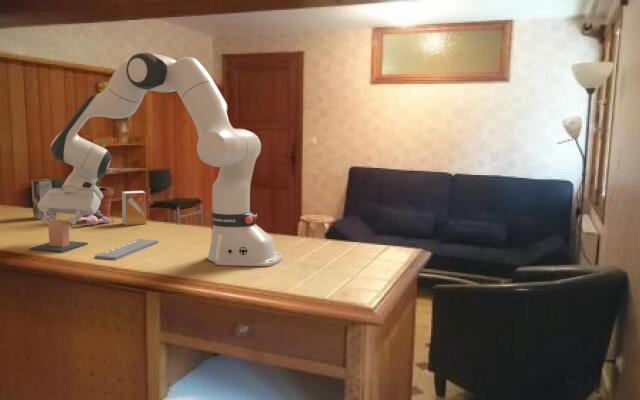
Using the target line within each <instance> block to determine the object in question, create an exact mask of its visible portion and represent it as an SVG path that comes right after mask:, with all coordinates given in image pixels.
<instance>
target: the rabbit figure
mask: <svg viewBox="0 0 640 400" xmlns="http://www.w3.org/2000/svg"><path fill="white" fill-rule="evenodd" d="M97 215H98V216H102V217H101V219H97V217H96V216H93V215H91V216H88V217H86V218H85V217H82V218H81V219H79V220H78V222H81V221H86V223H87V224H88V225H91V226H96V225H98V223H99V224H110V223H111V221H112V223H114V222H115V221H114V218H112V217H110V218H107V217H104V216H103V215H102V214H100V211H97Z"/></svg>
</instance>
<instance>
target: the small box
mask: <svg viewBox="0 0 640 400" xmlns="http://www.w3.org/2000/svg"><path fill="white" fill-rule="evenodd" d="M121 208H122V210H121V211H122V214H121V215H122V223H123V225H125V226H135V225H136V226H137V225H147V192H146V191H144V190H130V191H129V190H126V191H121Z"/></svg>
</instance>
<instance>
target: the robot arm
mask: <svg viewBox="0 0 640 400" xmlns="http://www.w3.org/2000/svg"><path fill="white" fill-rule="evenodd" d="M104 88H105V89H103V90H102V91H101V92H99V93H92V94H90V96H88V97H87V98H86V99H85V100H84V102H83V103H82V104H81V106H80V107H79V108H78V109H77V110H76V112H75V113H74V115H73V116H72V118H71V119H70V120H69V121H68V123H67V124H66V126H65V127H64V128H63V129H62V130H61V131H60V132H59V133H58V134H57V135H56V136H55V137H54V138H53V140H52V141H51V144H50V148H49V150H50V153H51V155H52V157H53V159H54V160H55V161H59V162H61V163H63V164H64V163H65V164H68V165H70V166H72V167H73V169H72V172H71V173H70V174H68V176H67V177H66V179H65V181H64V183H63V184H62V186H61V187H55V188H53V189H51V190H49V191H47V192H46V193H45V194H44V196H43V197H42V198H41V199H40V201H39V202H38V204H37V206H38V208H39V209H40V210H41V211H42V212H44V218H43V220H41V221H42V222H43V223H44V224H48V221H52V219H51V218H50V217H49V215H51V214H52V213H56V214H61V215H62V214H64V215H73V216H72V217H69V219H68V220H67V221H68V224H69V226H75V225H76V223H77V222H79V219H81V218H82V217H83V215H94V214H95V213H96V212H97V210H98V208H99V206H100V203H101V199H102V198H103V194H102V193H101V191H100V190H99V188H98V187H97V186H96V185H95V183H96V181H97V180H98V181H99V180H100V178H101V179H102V178H103V177H105V176H106V173H107V171H108V169H109V168H110V166H111V165H112V162H113V157H112V155H111V153H110V151H109V150H108V149H106V148H105V147H104V148H103V147H101V145H98V144H96V143H94V142H91V141H89V140H87V139H85V138H83V137H81V136H80V135H79V134H78V133H79V132H80V130H81V129H82V128H83V127H84V125H85V123H86V122H87V121H88V120H89V119H90V118H95V117H98V118H99V117H100V118H101V117H102V118H108V119H113V120H118V119H119V120H121V119H127V118H129V117H131V116H133V115H134V114H135V113H136V111H138V108H139V107H140V105H141V103H142V101H143V99H144V98H145V95H146V93H147V92H148V91H153V92H158V93H173V94H178V95H179V97H180V99H181V101H182V103H183V105H184V106H185V108H186V110H187V112H188V114H189V116H190V117H191V119H192V121H193V123H194V126H195V128H196V132H197V137H198V140H197V144H196V151H197V155H198V157H199V159H200V160H201V161H202V162H203V163H204V164H206V165H208V166H211V167H217V168H219V172H218V175H217V178H216V180H215V181H214V183H213V184H212V188H211V189H212V191H211V192H212V193H211V195H212V198H211V199H212V200H211V201H212V211H211V212H210V213H211V214H210V227H211V228H210V229H211V239H210V240H211V241H210V245H209V246H210V247H209V251H208V254H207V260H209V261H210V262H213V263H214V264H216V265H217V266H235V267H236V266H239V267H241V266H243V267H245V266H246V267H247V266H248V267H270V266H273V265H277V263H279V262H280V261H282V259H283V254H282V252H279V251H276V246H275V241H274V238H273V237H272V236H271V235H270V234H268V232H266V231H265V230H264V229H262V228H261V227H260V226H258V225H257V224H256V223H257V220H256V219H257V218H258V213H255V214H254V213H253V212H252V211H251V210H250V209H251V203H250V201H251V200H250V199H251V198H250V197H251V194H250V193H251V182H252V177H253V173H254V168H255V164H256V161H257V159H258V157H259V156H260V154H261V151H262V143H261V141H260V138H259V137H258V136H257V134H256V133H254V132H252V131H250V130H247V129H244V128H234V127H233V126H232V125H231V122H230V120H229V117H228V113H227V112H228V104H227V102H226V99H225V98H224V97H223V95H222V93H221V91H220V90H219V88H218V87H217V85H216V83H215V81H214V79H213V78H212V77H211V75H210V73H209V71H207V70H206V68H205V67H204V66H203V64H201V62H200V61H199V60H198V59H196V58H194V57H192V56H184V57H181V58H179V59H177V58H172V57H169V56H166V55H164V54H158V53H149V52H141V53H140V52H139V53H137V54H136V53H135V54H134V55H132V56H131V57H130V58H127V59H124V60H123V61H122V62H121V63H120V64H119V66H118V67H117V68H116V70H115V71H114V73H113V74H112V76H111V77H110V79H109V81H108V83H107V85H106V87H104Z"/></svg>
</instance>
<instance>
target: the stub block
mask: <svg viewBox="0 0 640 400" xmlns="http://www.w3.org/2000/svg"><path fill="white" fill-rule="evenodd" d="M47 225H48V227H47V228H48V243H49V245H50V246H59V247H64V246H67V245H70V244H69V241H70V228H69V226H70V224H69V223H68V220H66V219H65V220H64V219H51V221H48V223H47Z"/></svg>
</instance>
